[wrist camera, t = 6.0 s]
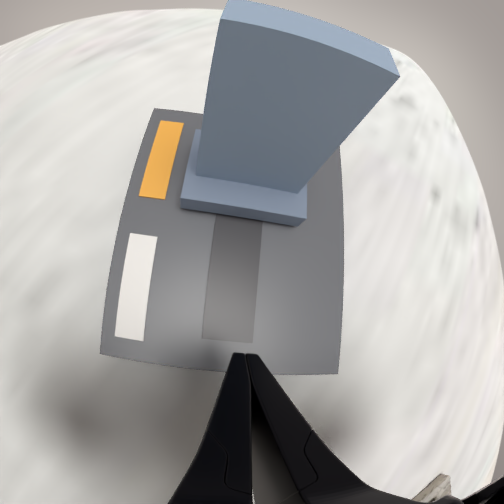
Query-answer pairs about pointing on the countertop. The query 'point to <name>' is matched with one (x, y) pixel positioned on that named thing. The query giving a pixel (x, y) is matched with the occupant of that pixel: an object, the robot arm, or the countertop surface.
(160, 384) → the countertop surface
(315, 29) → the switch lever
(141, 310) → the switch box
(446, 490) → the packaged product
